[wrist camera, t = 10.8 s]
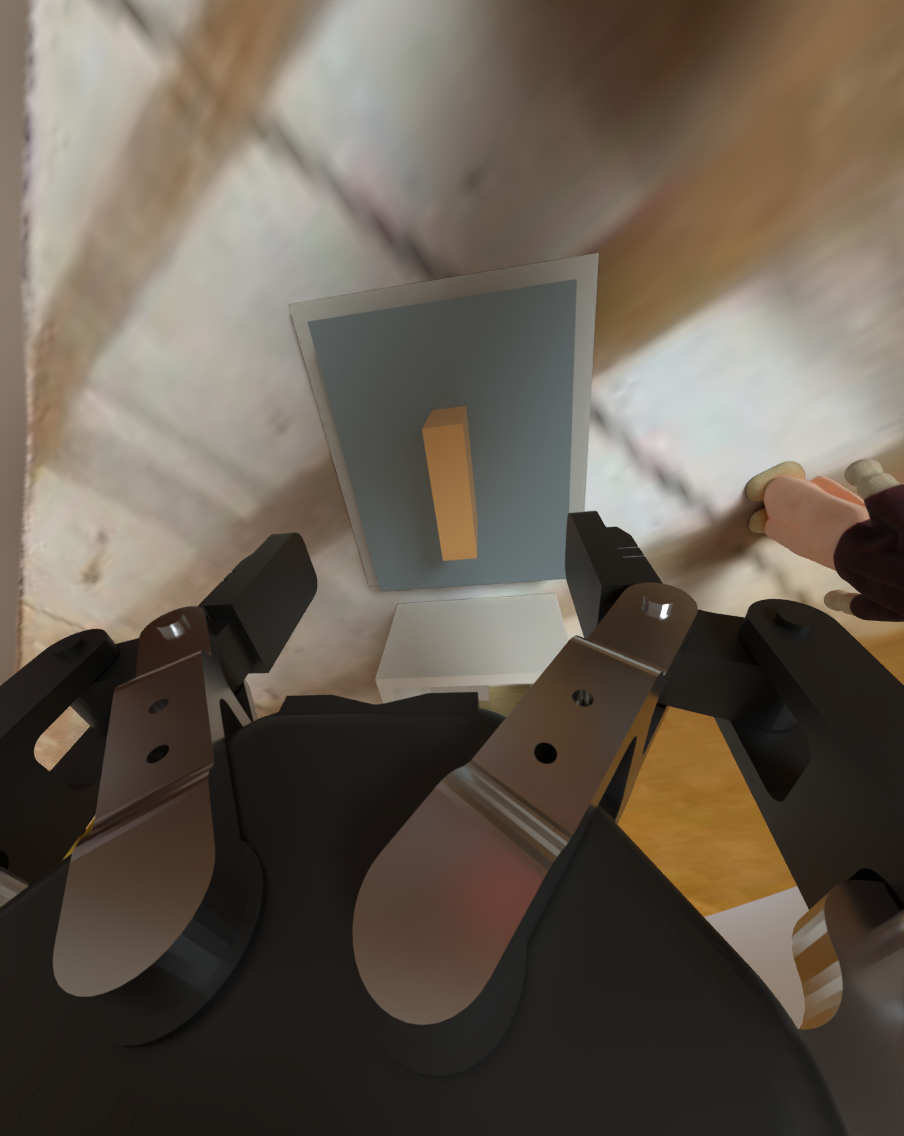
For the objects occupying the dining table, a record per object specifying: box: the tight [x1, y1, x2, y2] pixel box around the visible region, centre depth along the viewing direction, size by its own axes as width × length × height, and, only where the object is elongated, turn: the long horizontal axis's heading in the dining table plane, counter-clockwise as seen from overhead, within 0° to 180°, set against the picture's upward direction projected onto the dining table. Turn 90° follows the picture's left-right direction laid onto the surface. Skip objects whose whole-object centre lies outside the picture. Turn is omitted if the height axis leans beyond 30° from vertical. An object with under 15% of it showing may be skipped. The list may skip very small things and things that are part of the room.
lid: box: [308, 279, 577, 591], centre depth 19 cm, size 14×11×6 cm
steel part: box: [429, 685, 490, 701], centre depth 27 cm, size 4×4×3 cm
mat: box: [288, 253, 599, 586], centre depth 22 cm, size 16×14×1 cm
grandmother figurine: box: [746, 459, 904, 622], centre depth 16 cm, size 8×4×13 cm, turn 33°
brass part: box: [479, 685, 530, 717], centre depth 30 cm, size 4×4×3 cm
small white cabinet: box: [375, 594, 569, 704], centre depth 28 cm, size 14×11×7 cm
